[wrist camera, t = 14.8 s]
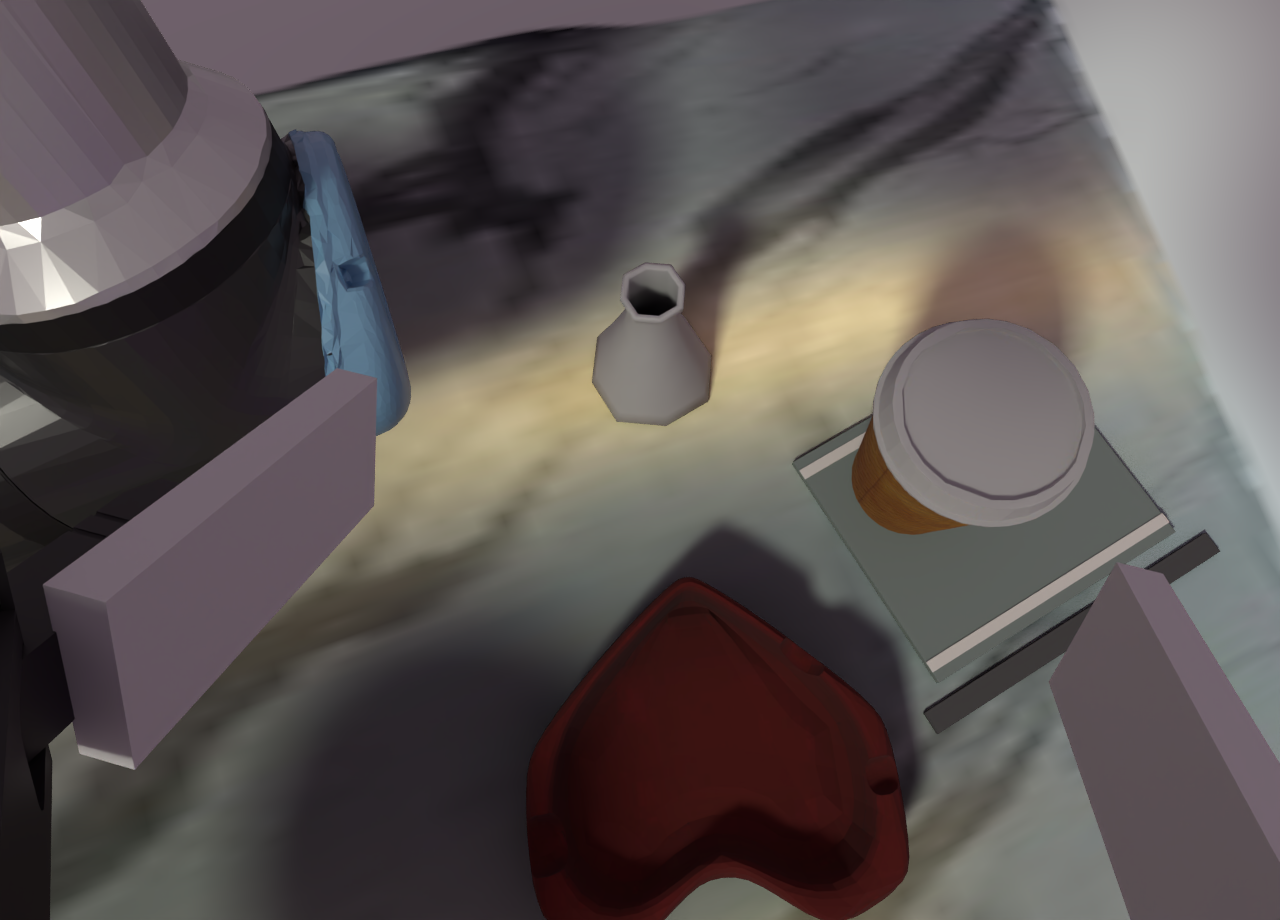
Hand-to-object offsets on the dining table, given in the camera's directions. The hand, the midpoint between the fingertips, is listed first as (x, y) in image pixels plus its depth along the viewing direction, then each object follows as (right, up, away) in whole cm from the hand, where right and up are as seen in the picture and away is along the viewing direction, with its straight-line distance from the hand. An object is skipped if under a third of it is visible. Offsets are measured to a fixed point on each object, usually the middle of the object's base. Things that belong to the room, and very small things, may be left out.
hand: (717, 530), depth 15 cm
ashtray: (+2, -14, +30) cm, 33 cm away
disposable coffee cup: (+14, 0, +33) cm, 35 cm away
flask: (-1, +6, +35) cm, 36 cm away
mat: (+18, -1, +33) cm, 37 cm away
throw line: (+22, -8, +31) cm, 38 cm away
